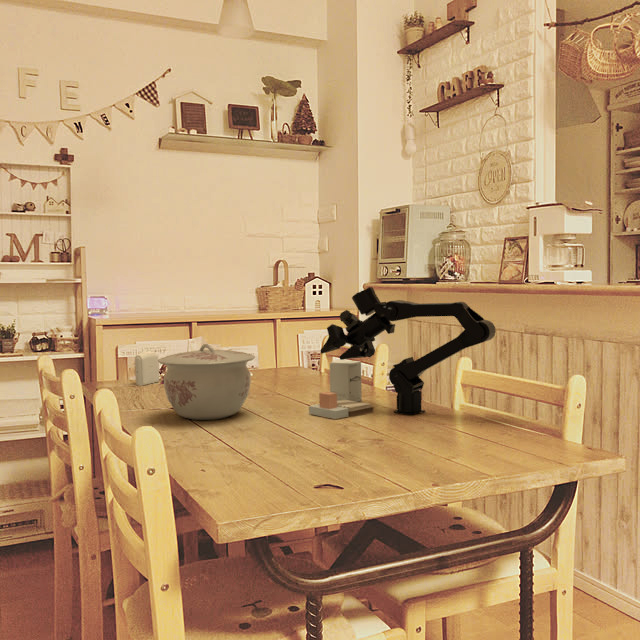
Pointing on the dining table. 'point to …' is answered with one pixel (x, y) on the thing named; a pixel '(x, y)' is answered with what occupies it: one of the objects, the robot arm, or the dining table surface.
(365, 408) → the pad
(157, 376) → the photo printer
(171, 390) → the chamber pot
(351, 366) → the supplement box
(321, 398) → the stub
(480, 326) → the robot arm
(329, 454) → the dining table surface
